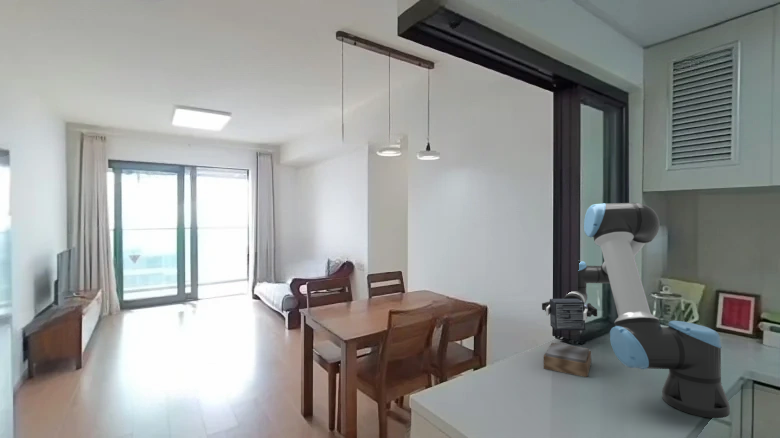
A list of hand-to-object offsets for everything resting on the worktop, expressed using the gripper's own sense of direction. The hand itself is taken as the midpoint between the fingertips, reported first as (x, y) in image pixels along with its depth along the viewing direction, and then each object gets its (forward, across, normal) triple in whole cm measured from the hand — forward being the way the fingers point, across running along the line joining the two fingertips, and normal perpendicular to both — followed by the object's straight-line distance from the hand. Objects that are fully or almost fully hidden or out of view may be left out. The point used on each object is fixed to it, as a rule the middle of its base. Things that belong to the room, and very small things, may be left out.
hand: (565, 314), depth 132 cm
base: (-3, 0, -20) cm, 20 cm away
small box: (-4, 0, -6) cm, 7 cm away
